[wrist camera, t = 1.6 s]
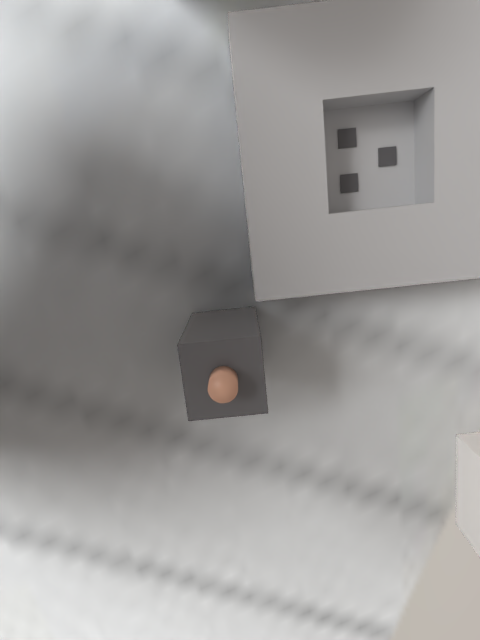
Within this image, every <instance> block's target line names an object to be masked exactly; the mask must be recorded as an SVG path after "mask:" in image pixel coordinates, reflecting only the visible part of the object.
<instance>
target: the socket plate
mask: <svg viewBox="0 0 480 640" xmlns="http://www.w3.org/2000/svg"><path fill="white" fill-rule="evenodd" d="M227 15H228V34H229V48H230V58H231V68H232V78H233V88H234V98H235V108H236V118H237V128H238V138H239V148H240V158H241V168H242V179H243V189H244V199H245V209H246V219H247V229H248V239H249V249H250V259H251V269H252V279H253V289H254V295H255V300H256V302H258V301H268V300H277V299H287V298H296V297H306V296H315V295H325V294H334V293H344V292H354V291H363V290H373V289H382V288H392V287H401V286H411V285H421V284H430V283H440V282H449V281H459V280H468V279H478V278H480V0H325V1H317V2H309V3H300V4H292V5H283V6H275V7H266V8H258V9H250V10H241V11H233V12H227Z"/></svg>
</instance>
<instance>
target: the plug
mask: <svg viewBox="0 0 480 640" xmlns="http://www.w3.org/2000/svg"><path fill="white" fill-rule="evenodd" d="M177 346H178V353H179V359H180V366H181V373H182V380H183V387H184V394H185V400H186V407H187V414H188V421H194V420H204V419H214V418H224V417H234V416H245V415H255V414H265V413H268V405H267V395H266V385H265V374H264V364H263V354H262V344H261V335H260V329H259V324H258V319H257V313H256V308H255V306H254V307H244V308H235V309H225V310H216V311H206V312H197V313H192V315H191V317H190V320H189V322H188V324H187V326H186V328H185V330H184V332H183V334H182V336H181V338H180V340H179V342H178V344H177Z"/></svg>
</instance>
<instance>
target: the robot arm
mask: <svg viewBox="0 0 480 640" xmlns="http://www.w3.org/2000/svg"><path fill="white" fill-rule="evenodd" d="M456 525H457V527H458V528H459V529H460V531H461V532H462V534H463V535H464V536H465V538H466V539H467V541H468V542H469V543H470V545H471V546H472V548H473V549H474V550H475V552H476V553H477V555H478V556H479V557H480V432H472V433H463V434H456Z"/></svg>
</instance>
